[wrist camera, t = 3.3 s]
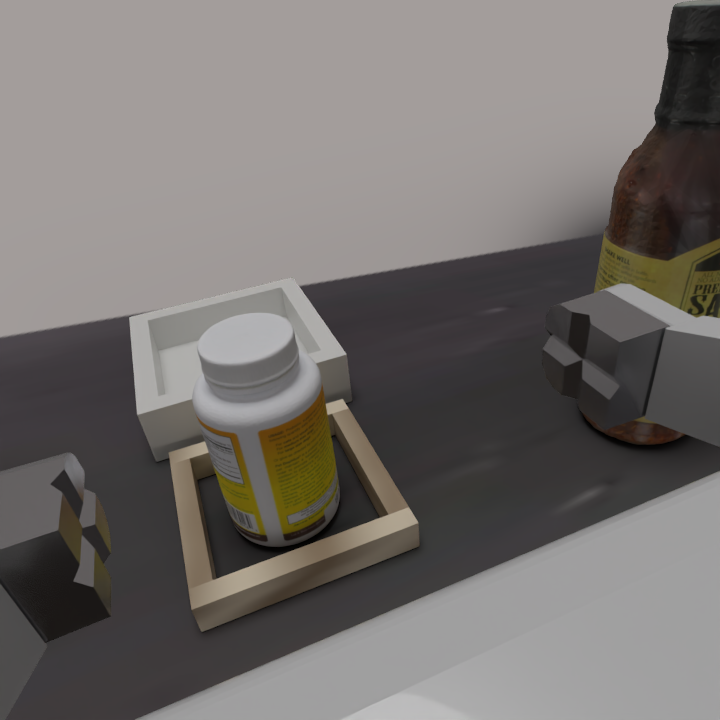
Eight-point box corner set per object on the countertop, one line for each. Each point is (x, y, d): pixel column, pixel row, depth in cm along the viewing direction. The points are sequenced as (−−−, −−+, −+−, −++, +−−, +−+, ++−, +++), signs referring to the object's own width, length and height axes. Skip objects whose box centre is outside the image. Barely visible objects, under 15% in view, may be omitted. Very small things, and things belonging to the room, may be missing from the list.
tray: (156, 462, 32) (137, 414, 30) (144, 358, 42) (129, 317, 40) (352, 400, 35) (346, 354, 33) (299, 317, 45) (292, 277, 43)
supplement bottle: (348, 468, 30) (325, 301, 25) (331, 556, 26) (298, 375, 20) (249, 466, 31) (204, 303, 25) (216, 550, 27) (152, 376, 21)
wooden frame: (201, 631, 23) (191, 609, 22) (176, 473, 31) (168, 452, 30) (419, 546, 26) (418, 523, 25) (345, 419, 34) (342, 398, 33)
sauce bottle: (672, 469, 28) (817, 2, 17) (555, 421, 32) (611, 11, 21) (713, 403, 32) (852, -15, 21) (603, 367, 36) (673, -5, 25)
